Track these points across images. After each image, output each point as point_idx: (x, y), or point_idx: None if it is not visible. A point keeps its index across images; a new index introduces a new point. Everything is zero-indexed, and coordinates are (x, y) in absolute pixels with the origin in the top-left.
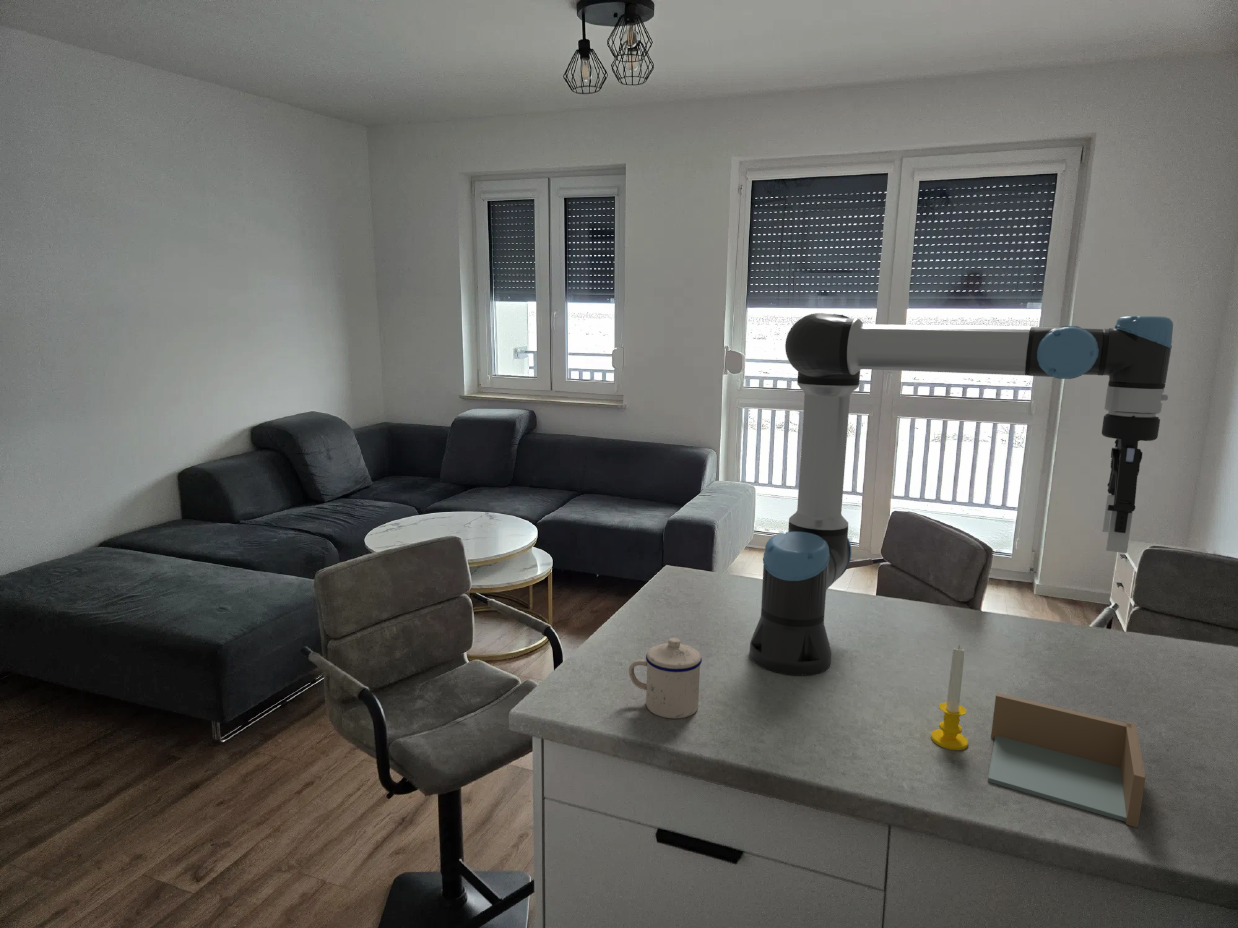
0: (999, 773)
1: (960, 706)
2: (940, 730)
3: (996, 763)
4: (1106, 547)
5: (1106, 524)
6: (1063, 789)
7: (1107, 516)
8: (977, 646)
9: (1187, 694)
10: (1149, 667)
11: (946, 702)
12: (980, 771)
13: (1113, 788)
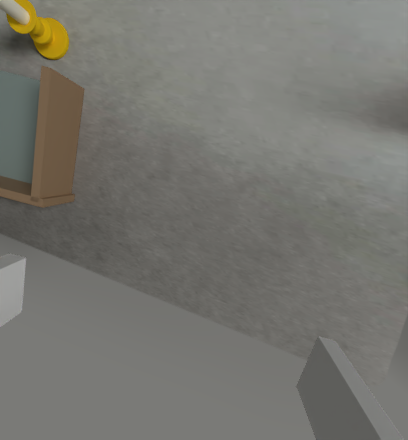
0: (3, 80)
1: (32, 27)
2: (59, 29)
3: (19, 80)
4: (6, 258)
5: (330, 371)
6: (4, 133)
7: (354, 412)
8: (320, 111)
9: (243, 304)
10: (303, 295)
11: (33, 8)
12: (9, 65)
13: (25, 175)
